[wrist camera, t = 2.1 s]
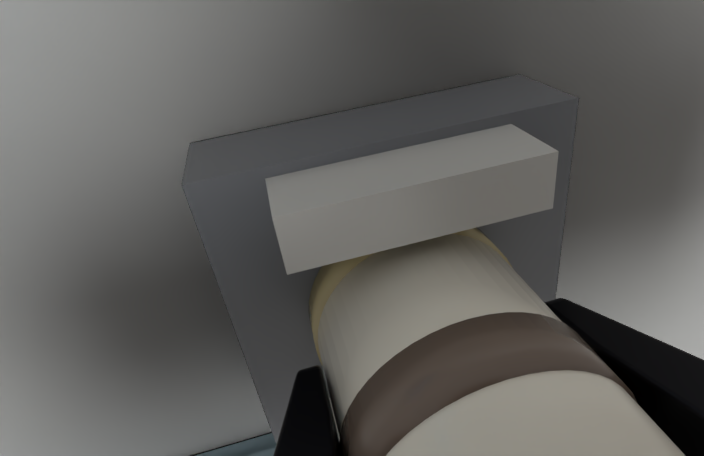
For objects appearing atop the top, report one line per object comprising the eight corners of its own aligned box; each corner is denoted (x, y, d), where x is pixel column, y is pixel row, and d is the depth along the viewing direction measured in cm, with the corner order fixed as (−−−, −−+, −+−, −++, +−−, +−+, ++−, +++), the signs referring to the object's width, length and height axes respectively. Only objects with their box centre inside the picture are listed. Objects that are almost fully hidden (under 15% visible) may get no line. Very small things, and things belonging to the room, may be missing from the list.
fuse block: (507, 317, 14) (582, 412, 11) (271, 383, 13) (283, 506, 10) (519, 74, 10) (637, 121, 7) (189, 143, 9) (172, 228, 6)
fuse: (495, 342, 11) (805, 785, 5) (326, 390, 11) (455, 944, 5) (500, 188, 9) (1044, 643, 3) (288, 239, 8) (438, 905, 2)
